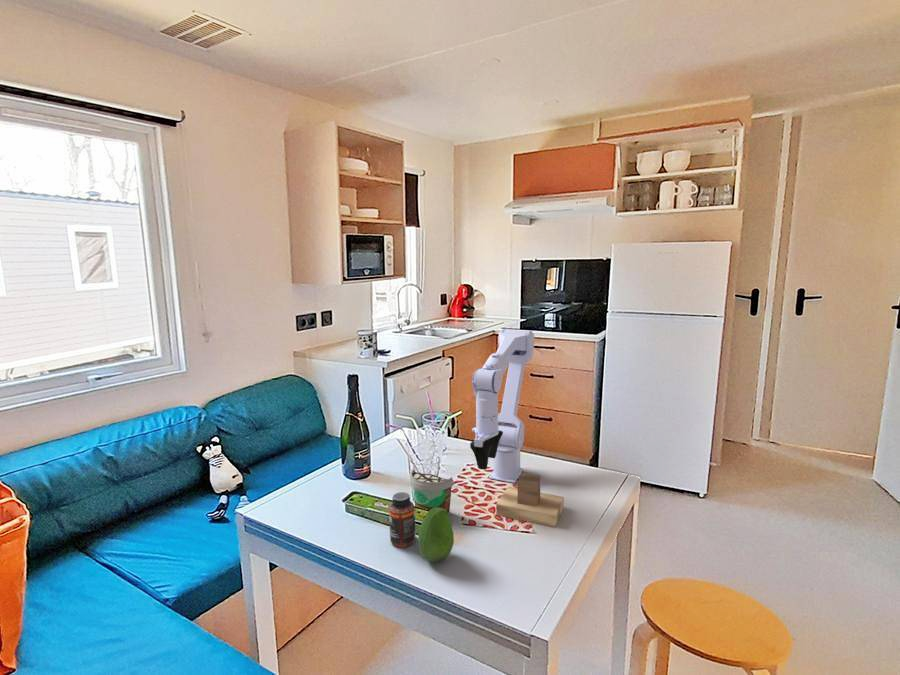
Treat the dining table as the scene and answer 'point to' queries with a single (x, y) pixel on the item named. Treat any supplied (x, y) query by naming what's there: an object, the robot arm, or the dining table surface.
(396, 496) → the supplement bottle
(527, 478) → the walnut block
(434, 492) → the food container
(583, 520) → the dining table surface
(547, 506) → the oak block
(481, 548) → the dining table surface
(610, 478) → the dining table surface
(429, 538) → the avocado
